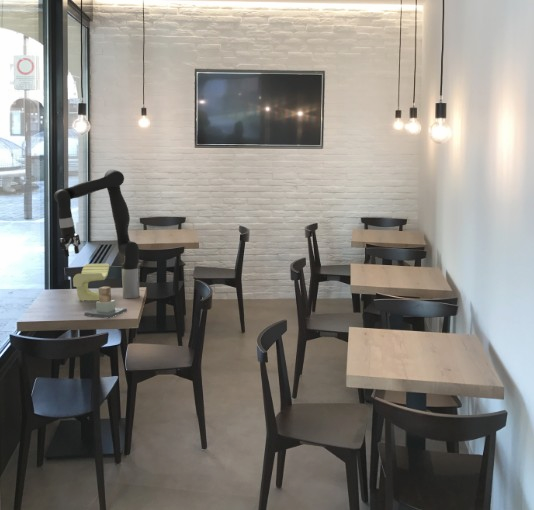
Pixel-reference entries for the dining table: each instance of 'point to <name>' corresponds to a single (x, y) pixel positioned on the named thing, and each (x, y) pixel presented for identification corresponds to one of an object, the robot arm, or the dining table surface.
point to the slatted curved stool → (87, 275)
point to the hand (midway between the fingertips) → (72, 255)
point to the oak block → (104, 294)
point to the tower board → (103, 314)
